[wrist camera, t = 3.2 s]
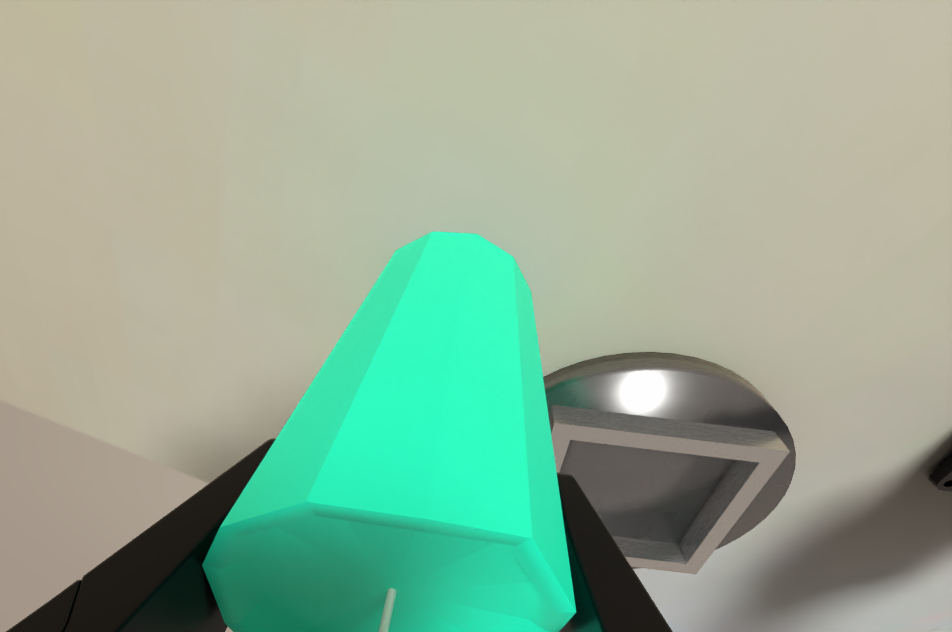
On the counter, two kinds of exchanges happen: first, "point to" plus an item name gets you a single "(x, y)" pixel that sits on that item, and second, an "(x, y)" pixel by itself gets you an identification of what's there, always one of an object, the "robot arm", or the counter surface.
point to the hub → (669, 453)
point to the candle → (410, 469)
